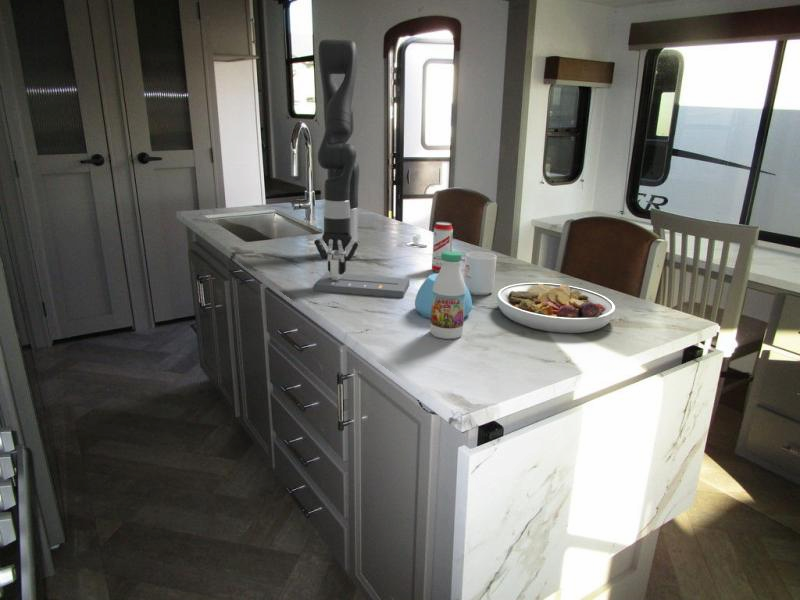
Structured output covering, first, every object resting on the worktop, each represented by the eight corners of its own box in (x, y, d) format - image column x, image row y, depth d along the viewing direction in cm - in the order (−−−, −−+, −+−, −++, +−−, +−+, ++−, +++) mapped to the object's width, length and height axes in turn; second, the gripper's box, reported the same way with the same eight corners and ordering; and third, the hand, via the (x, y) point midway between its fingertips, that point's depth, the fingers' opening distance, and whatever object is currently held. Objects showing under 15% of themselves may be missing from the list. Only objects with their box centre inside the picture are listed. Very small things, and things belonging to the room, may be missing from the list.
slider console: (326, 278, 177) (326, 271, 176) (409, 285, 174) (409, 278, 173) (314, 290, 165) (314, 283, 164) (403, 298, 162) (403, 290, 161)
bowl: (473, 307, 157) (476, 279, 155) (554, 294, 171) (557, 268, 169) (550, 346, 133) (554, 314, 130) (637, 327, 147) (642, 298, 144)
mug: (499, 294, 168) (502, 257, 165) (473, 297, 165) (476, 260, 161) (476, 283, 179) (479, 248, 175) (452, 285, 175) (454, 250, 171)
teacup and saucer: (429, 248, 223) (430, 238, 222) (410, 248, 221) (410, 238, 220) (423, 243, 231) (424, 233, 230) (404, 243, 229) (405, 233, 228)
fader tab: (335, 275, 173) (335, 255, 171) (343, 275, 172) (343, 255, 170) (330, 280, 167) (330, 259, 165) (338, 281, 167) (338, 260, 165)
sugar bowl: (429, 300, 161) (431, 260, 157) (479, 310, 154) (482, 269, 151) (404, 315, 148) (406, 272, 144) (458, 327, 141) (461, 282, 138)
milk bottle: (428, 327, 140) (432, 248, 134) (459, 328, 141) (465, 248, 134) (432, 340, 133) (437, 256, 126) (465, 340, 133) (471, 256, 127)
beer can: (449, 273, 188) (452, 225, 182) (430, 272, 189) (432, 224, 184) (451, 269, 193) (454, 222, 188) (432, 267, 195) (435, 220, 189)
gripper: (363, 214, 166) (362, 271, 172) (317, 211, 168) (317, 268, 174) (357, 219, 159) (357, 278, 165) (309, 216, 161) (310, 275, 167)
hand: (336, 273), depth 169 cm, fingers closed on fader tab, 2 cm apart
